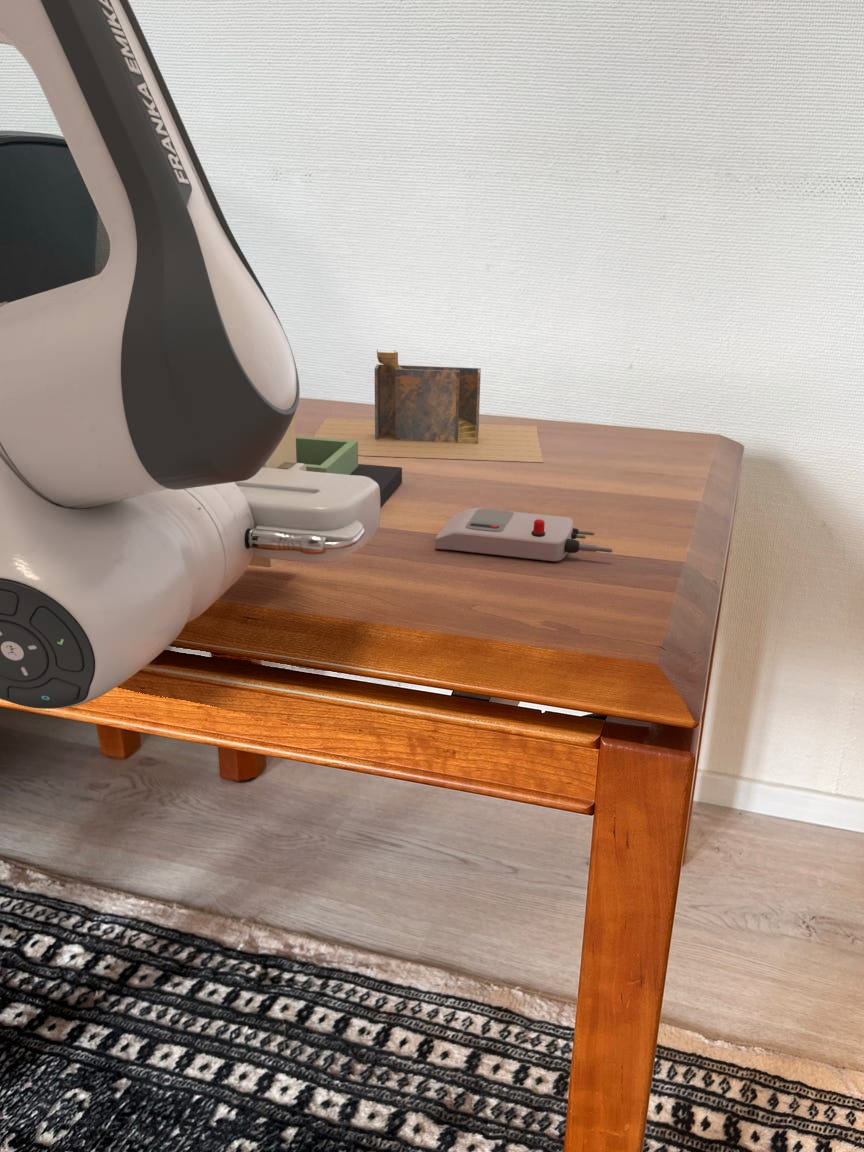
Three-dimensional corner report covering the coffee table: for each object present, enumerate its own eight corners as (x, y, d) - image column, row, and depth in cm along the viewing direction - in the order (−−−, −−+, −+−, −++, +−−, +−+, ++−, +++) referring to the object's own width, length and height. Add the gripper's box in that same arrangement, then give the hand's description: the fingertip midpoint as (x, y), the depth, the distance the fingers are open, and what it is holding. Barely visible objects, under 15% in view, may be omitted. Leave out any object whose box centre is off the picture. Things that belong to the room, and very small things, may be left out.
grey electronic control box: (433, 521, 87) (434, 487, 86) (617, 541, 84) (621, 506, 83) (412, 547, 81) (412, 510, 80) (609, 569, 78) (612, 531, 77)
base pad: (190, 505, 89) (187, 460, 87) (242, 469, 99) (239, 428, 98) (369, 520, 87) (369, 474, 85) (402, 482, 97) (402, 441, 96)
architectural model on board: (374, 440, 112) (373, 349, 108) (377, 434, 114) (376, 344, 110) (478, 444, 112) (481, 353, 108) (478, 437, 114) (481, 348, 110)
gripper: (348, 496, 55) (406, 437, 68) (-1, 464, 58) (116, 413, 70) (349, 603, 58) (405, 528, 70) (16, 568, 61) (126, 501, 73)
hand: (258, 470), depth 70 cm, fingers closed on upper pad, 4 cm apart
